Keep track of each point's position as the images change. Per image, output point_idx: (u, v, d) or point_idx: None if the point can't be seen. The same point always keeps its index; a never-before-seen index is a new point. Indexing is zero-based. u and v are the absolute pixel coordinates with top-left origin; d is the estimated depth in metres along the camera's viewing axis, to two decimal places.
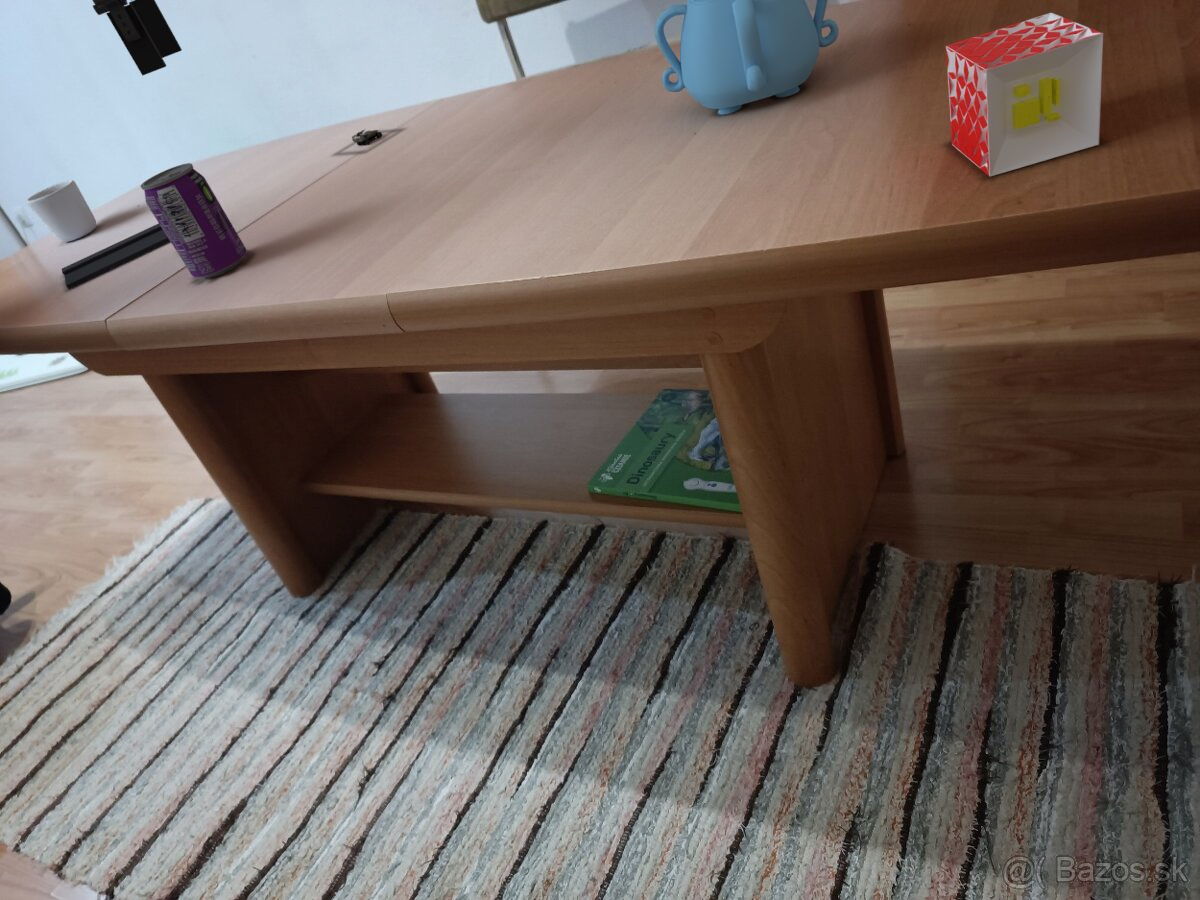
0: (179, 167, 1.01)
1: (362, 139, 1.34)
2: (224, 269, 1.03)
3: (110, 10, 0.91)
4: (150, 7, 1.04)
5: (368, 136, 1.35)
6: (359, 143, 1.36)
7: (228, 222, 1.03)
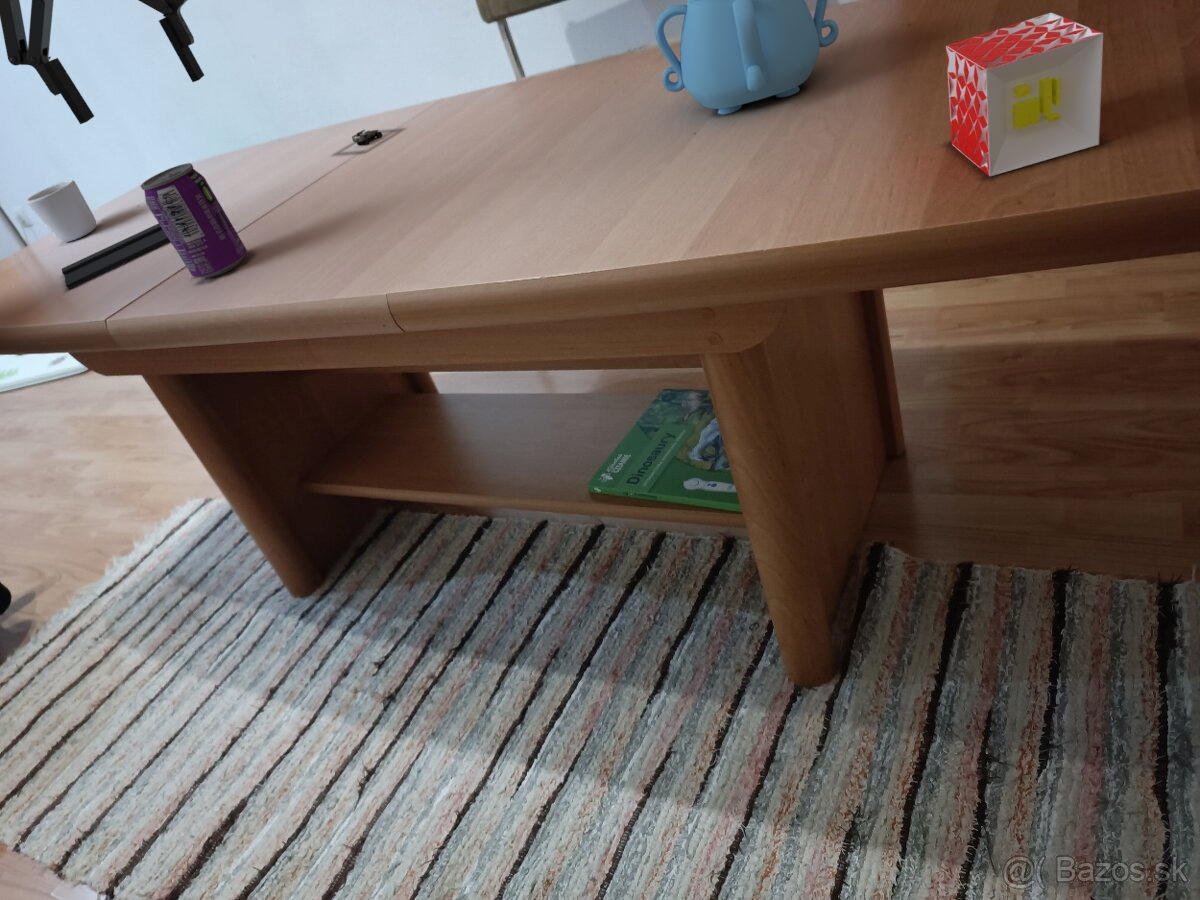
0: (179, 167, 1.01)
1: (362, 139, 1.34)
2: (224, 269, 1.03)
3: (177, 11, 0.93)
4: (62, 70, 0.95)
5: (368, 136, 1.35)
6: (359, 143, 1.36)
7: (228, 222, 1.03)
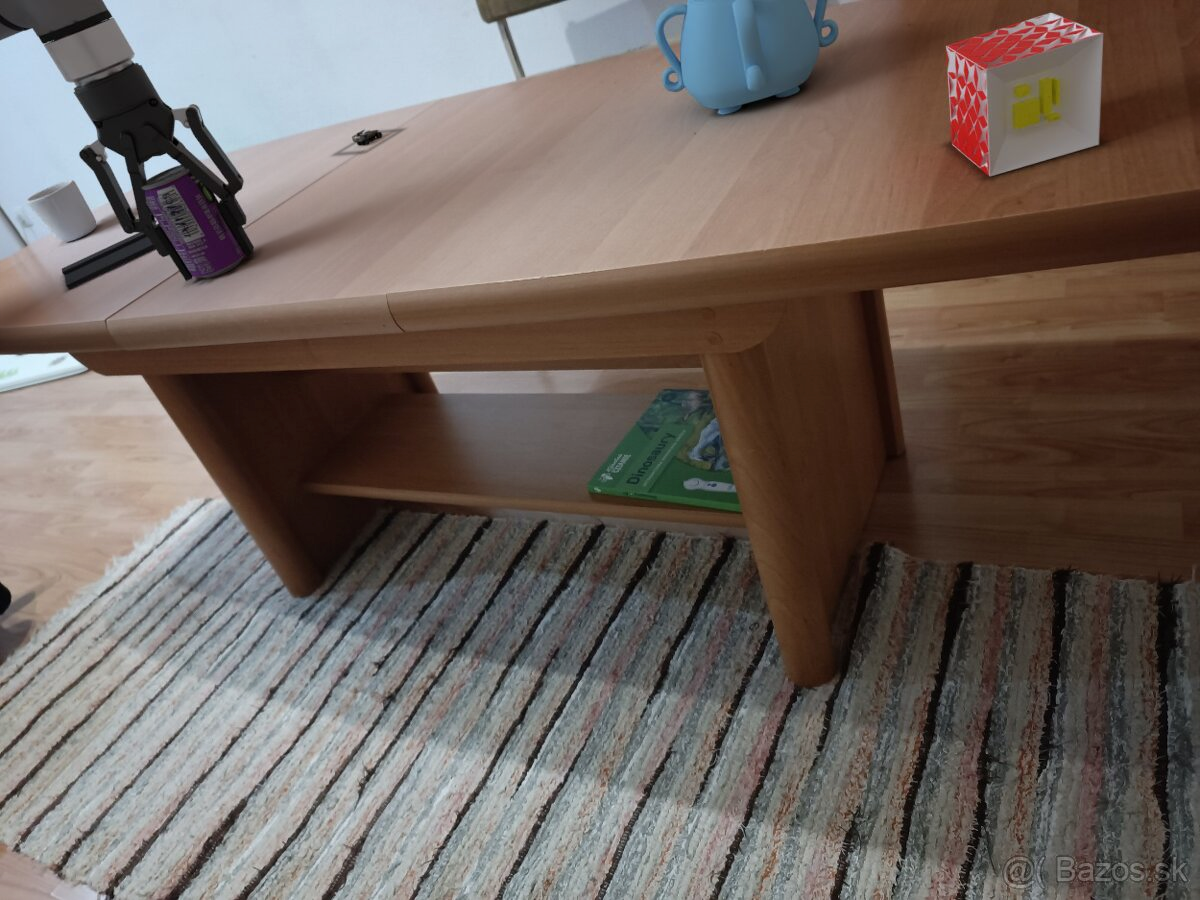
0: (179, 167, 1.01)
1: (362, 139, 1.34)
2: (224, 269, 1.03)
3: (234, 197, 1.02)
4: None
5: (368, 136, 1.35)
6: (359, 143, 1.36)
7: None
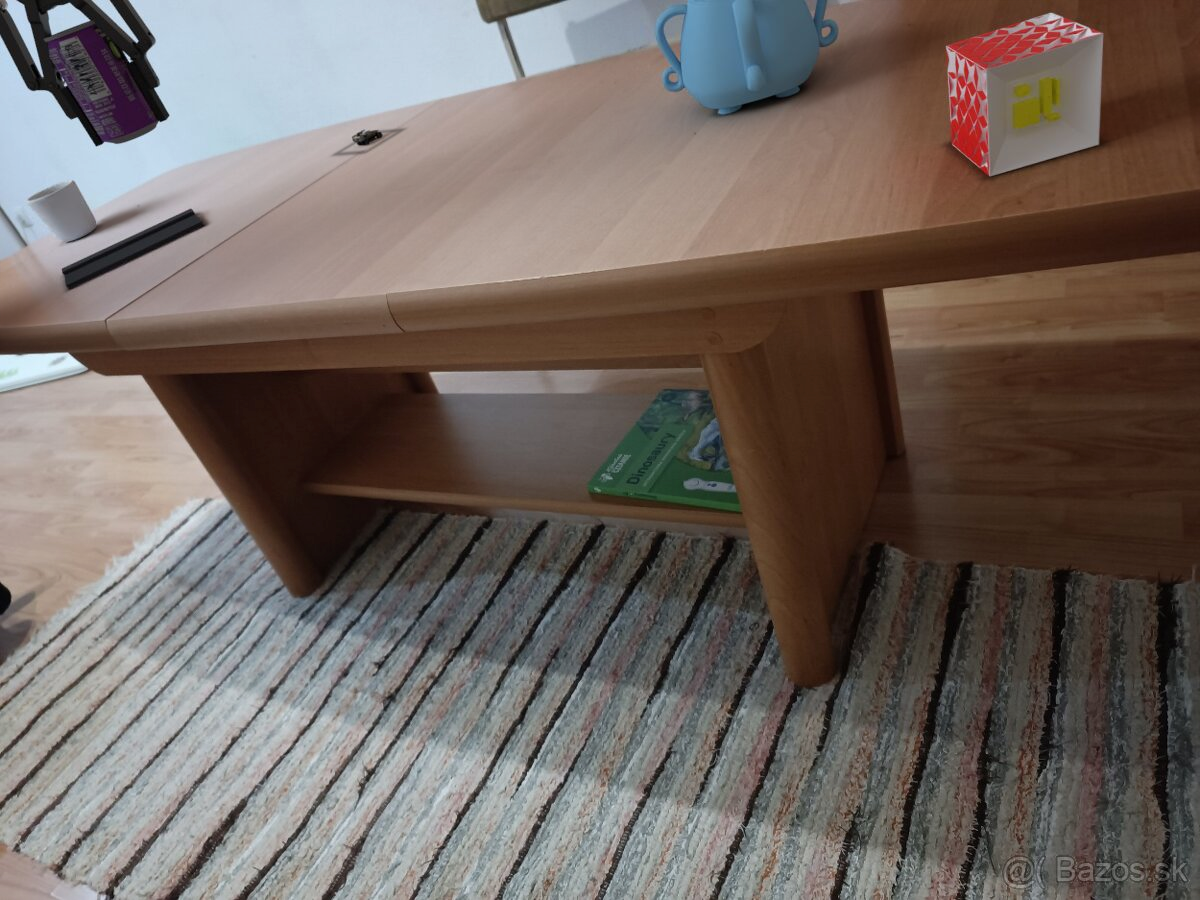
0: None
1: (362, 139, 1.34)
2: (135, 132, 0.99)
3: (144, 56, 0.98)
4: None
5: (368, 136, 1.35)
6: (359, 143, 1.36)
7: None
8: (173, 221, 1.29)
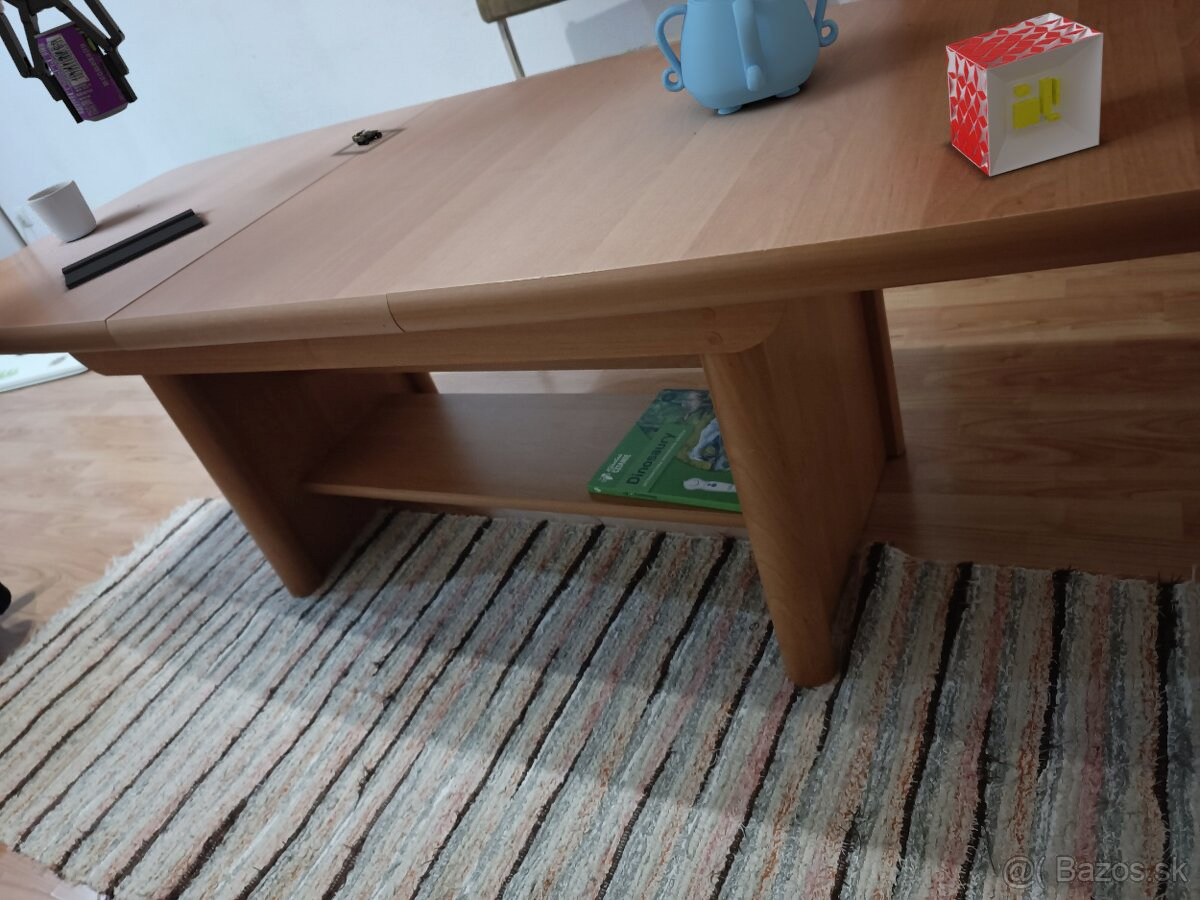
0: (69, 23, 1.20)
1: (362, 139, 1.34)
2: (109, 112, 1.21)
3: (115, 49, 1.20)
4: None
5: (368, 136, 1.35)
6: (359, 143, 1.36)
7: None
8: (173, 221, 1.29)
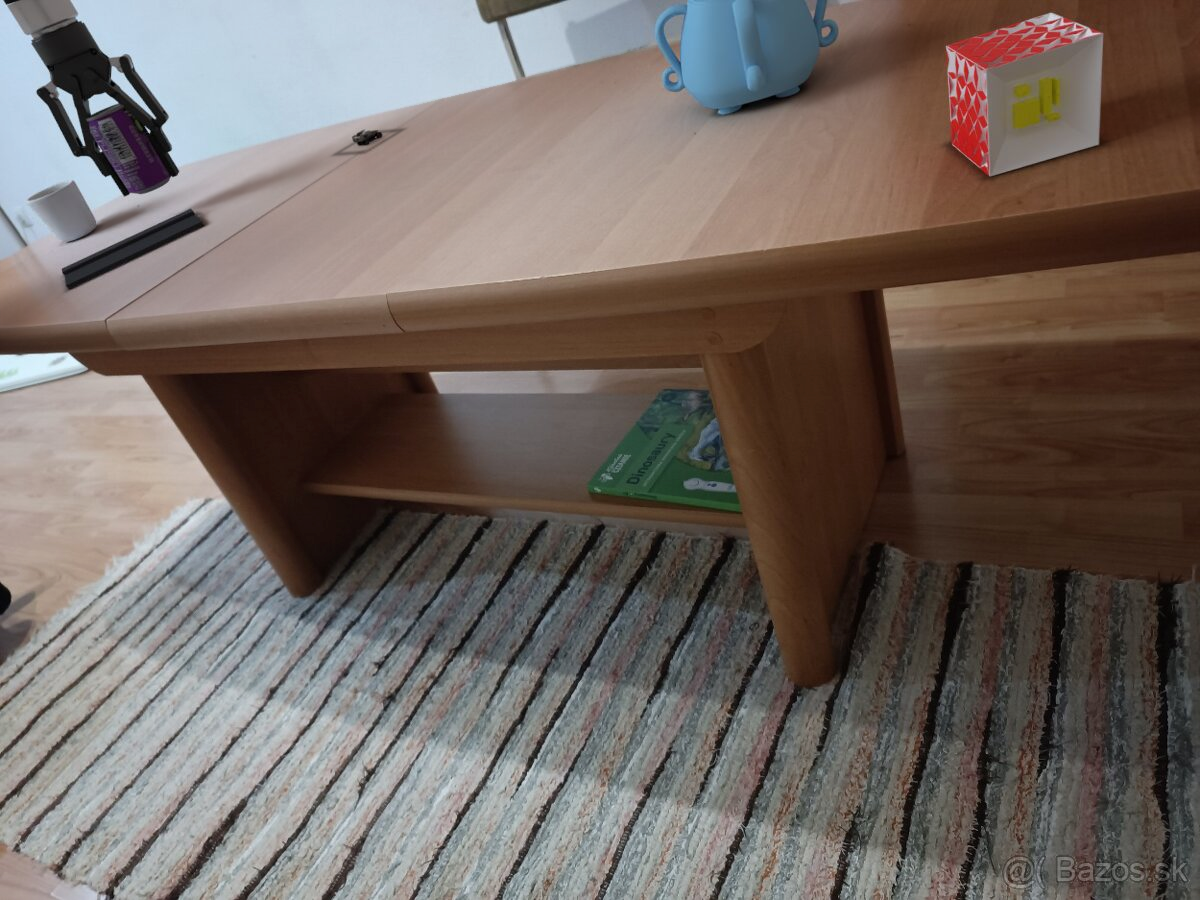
0: (117, 105, 1.29)
1: (362, 139, 1.34)
2: (154, 186, 1.31)
3: (160, 129, 1.30)
4: None
5: (368, 136, 1.35)
6: (359, 143, 1.36)
7: None
8: (173, 221, 1.29)
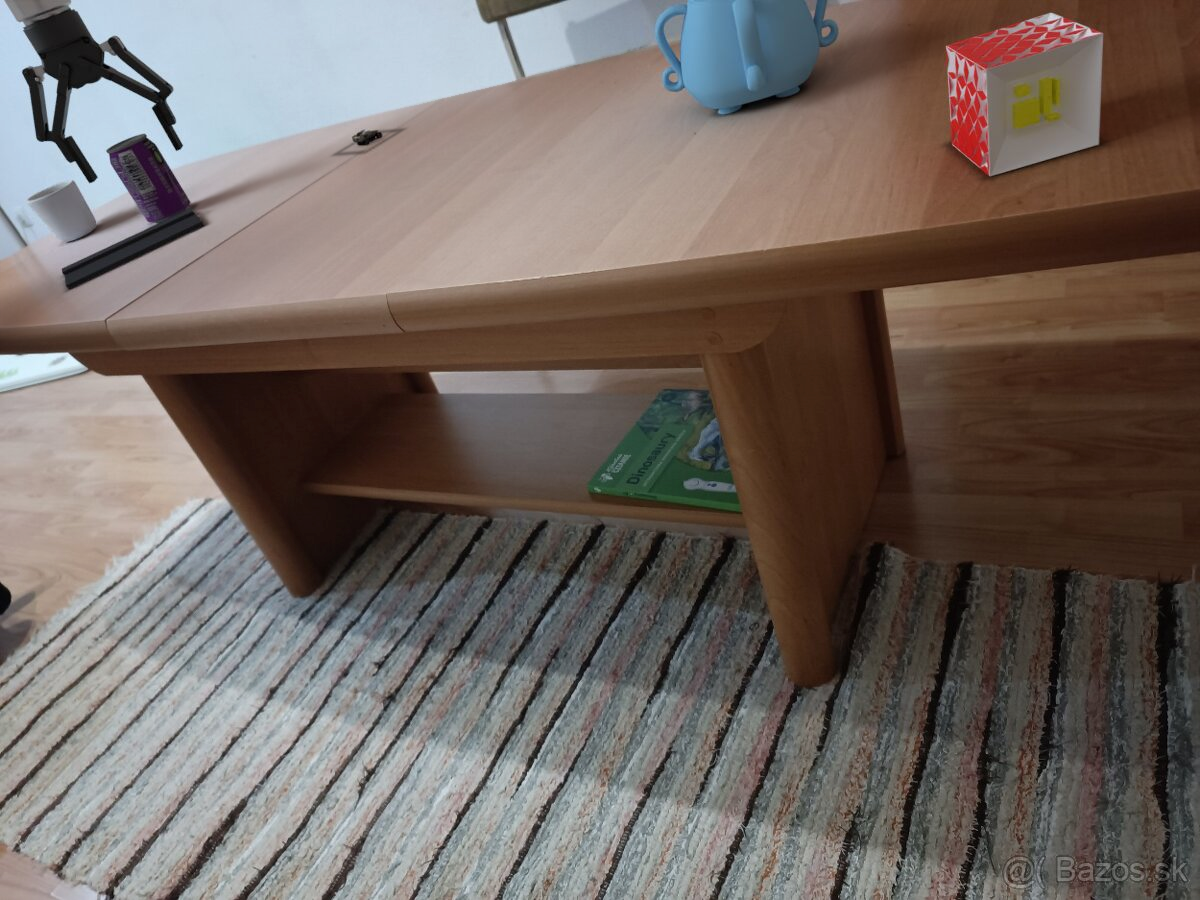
0: (136, 137, 1.32)
1: (362, 139, 1.34)
2: (172, 215, 1.34)
3: (165, 101, 1.28)
4: (75, 144, 1.29)
5: (368, 136, 1.35)
6: (359, 143, 1.36)
7: (175, 179, 1.34)
8: (173, 221, 1.29)
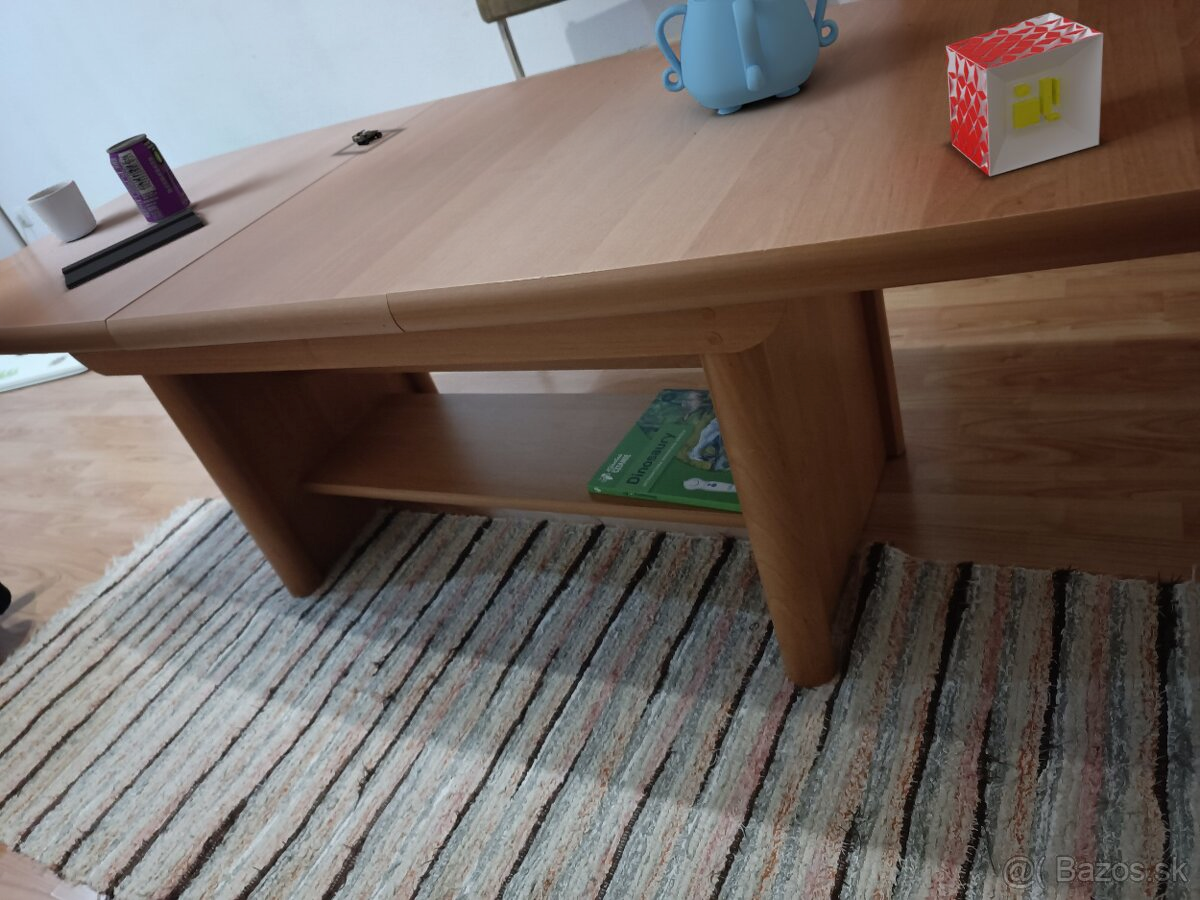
0: (136, 137, 1.32)
1: (362, 139, 1.34)
2: (172, 215, 1.34)
3: None
4: None
5: (368, 136, 1.35)
6: (359, 143, 1.36)
7: (175, 179, 1.34)
8: (173, 221, 1.29)
